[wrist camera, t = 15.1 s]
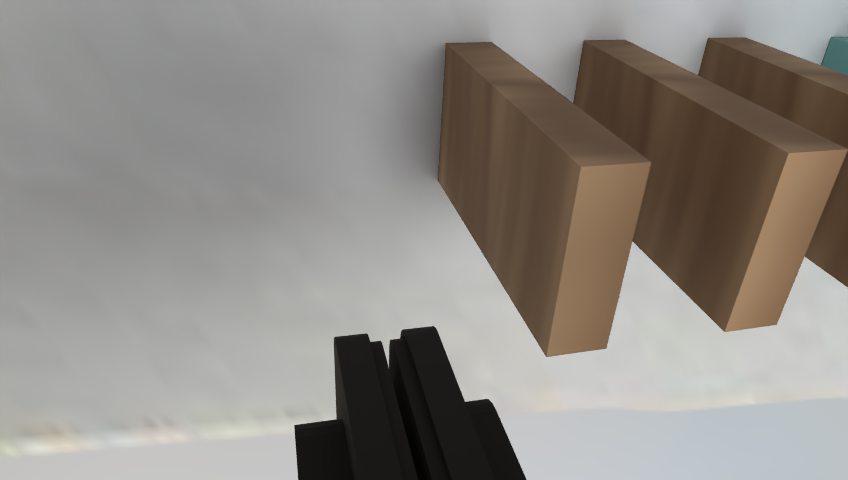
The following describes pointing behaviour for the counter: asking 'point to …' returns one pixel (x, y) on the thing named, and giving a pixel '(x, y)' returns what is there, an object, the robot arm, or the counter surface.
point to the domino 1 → (539, 194)
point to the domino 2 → (712, 180)
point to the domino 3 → (802, 104)
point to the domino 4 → (837, 55)
